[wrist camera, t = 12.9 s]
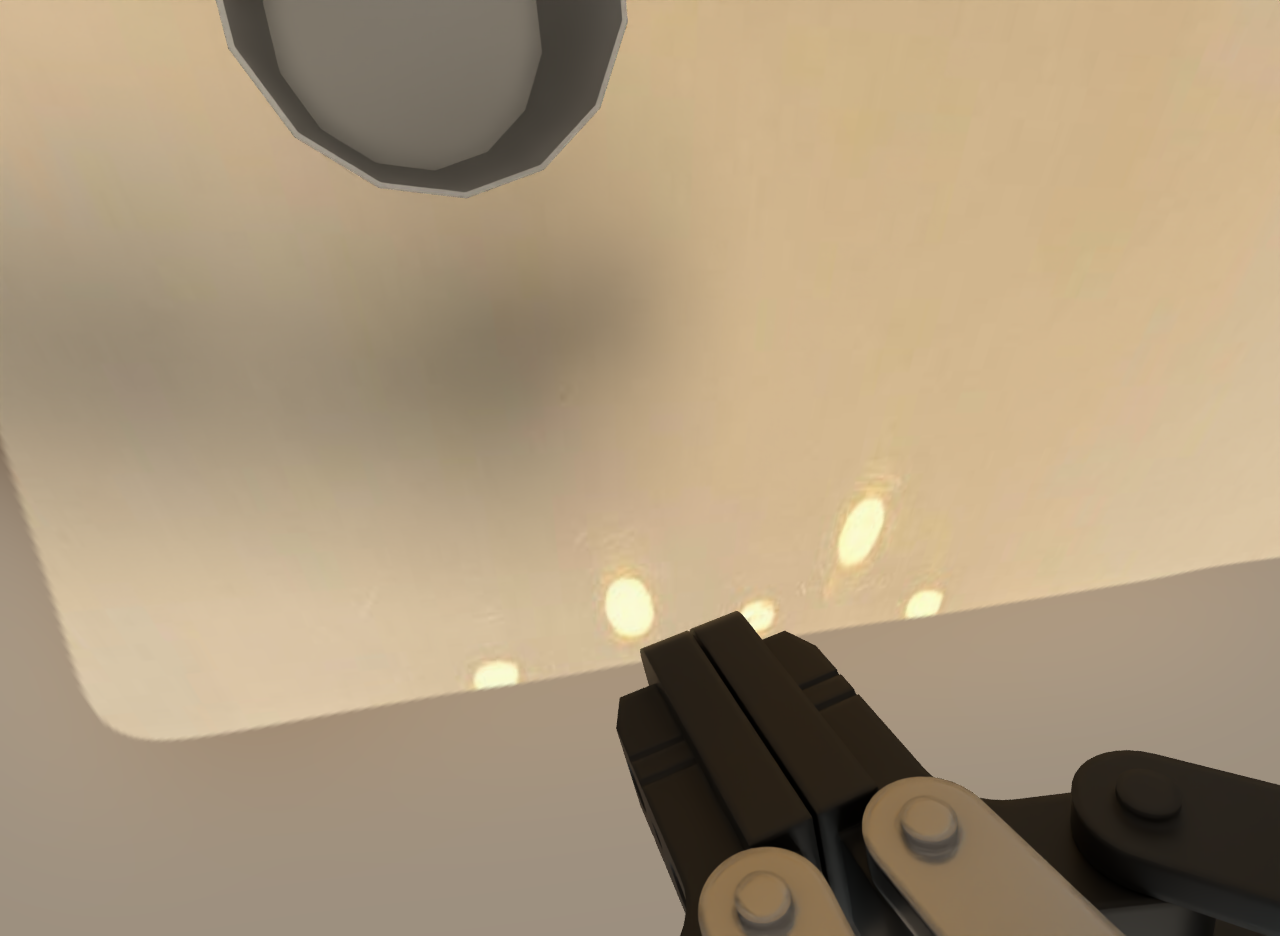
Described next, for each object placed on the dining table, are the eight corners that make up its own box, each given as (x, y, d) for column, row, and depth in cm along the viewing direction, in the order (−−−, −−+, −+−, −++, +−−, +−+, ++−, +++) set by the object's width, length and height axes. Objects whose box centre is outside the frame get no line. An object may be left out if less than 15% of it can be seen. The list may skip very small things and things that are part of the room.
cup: (265, 152, 25) (211, 168, 17) (255, -163, 23) (184, -345, 14) (531, 185, 28) (606, 214, 19) (553, -92, 25) (653, -206, 16)
